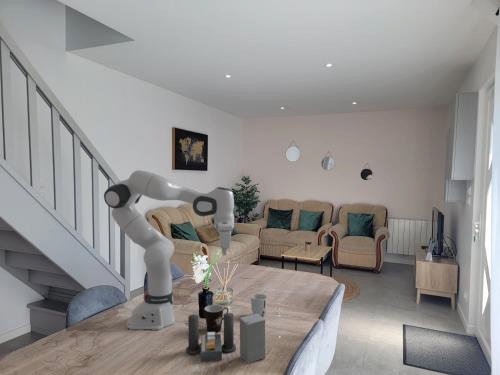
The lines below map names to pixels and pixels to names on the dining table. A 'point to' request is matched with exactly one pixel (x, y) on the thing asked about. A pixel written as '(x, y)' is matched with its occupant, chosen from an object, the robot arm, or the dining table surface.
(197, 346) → the post
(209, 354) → the dark grey boxy piece
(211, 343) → the paddle
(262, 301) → the cup
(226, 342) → the post
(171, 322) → the robot arm
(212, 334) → the paddle
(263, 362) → the dining table surface
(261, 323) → the skincare box
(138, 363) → the dining table surface
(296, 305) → the dining table surface
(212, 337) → the paddle mid
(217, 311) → the coffee mug
